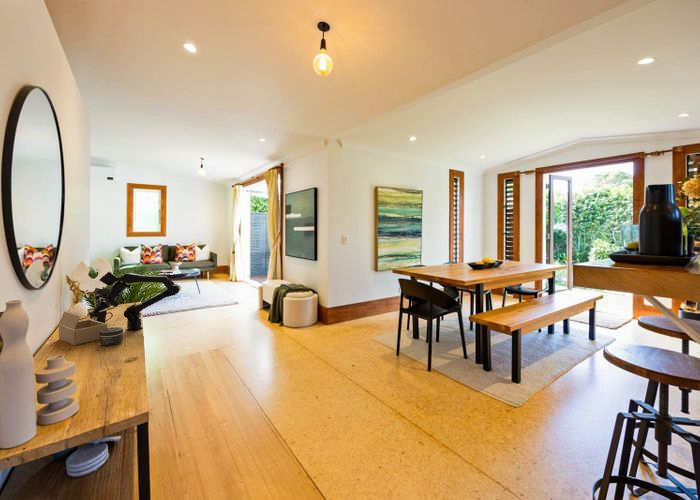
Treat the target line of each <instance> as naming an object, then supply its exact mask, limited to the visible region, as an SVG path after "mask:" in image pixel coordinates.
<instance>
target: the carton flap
mask: <svg viewBox="0 0 700 500" xmlns="http://www.w3.org/2000/svg"><path fill="white" fill-rule="evenodd" d="M80 318H81V316H80V315H78V314H74V313H71V312H68V311H63V314H62V316H61V318H60V320H59V323H58V325H63V326H65V327H68V328H71V329H73V330H75V328H76V325H77V323H78V321H80Z"/></svg>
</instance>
